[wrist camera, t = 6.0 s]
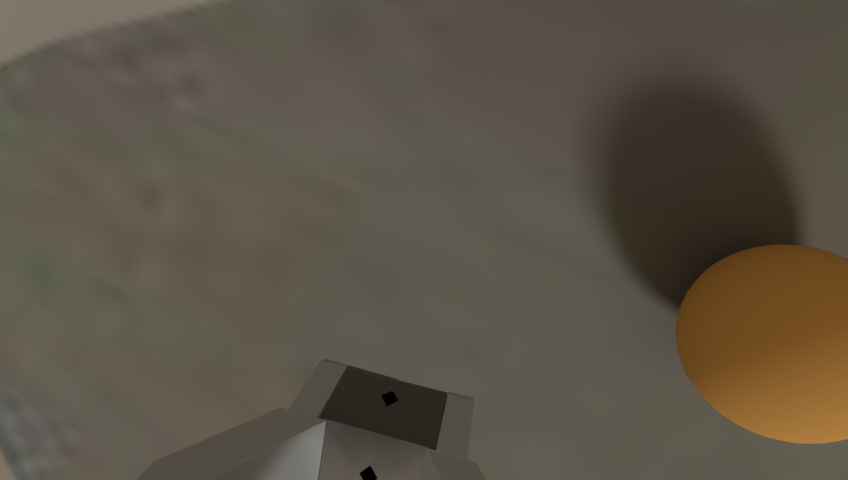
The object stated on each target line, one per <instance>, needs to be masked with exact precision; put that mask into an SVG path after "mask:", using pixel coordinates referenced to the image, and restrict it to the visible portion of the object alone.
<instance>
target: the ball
mask: <svg viewBox="0 0 848 480" xmlns="http://www.w3.org/2000/svg"><path fill="white" fill-rule="evenodd" d="M676 338H677V346H678V352H679V355H680V359H681V362H682V364H683V367H684V369H685V371H686V373H687V375H688V377H689V379H690V380H691V382H692V383H693V385H694V386H695V388H696V389H697V391H698V392H699V393H700V394H701V395H702V396H703V397H704V399H705V400H706V401H707V402H708V403H709V404H710V405H711V406H712V407H713V408H715V409H716V410H717V411H718V412H720V413H721V414H722V415H724V416H725V417H726V418H728V419H729V420H731V421H733V422H734V423H736V424H737V425H739V426H741V427H744V428H746V429H748V430H750V431H752V432H754V433H757V434H759V435H762V436H765V437H768V438H772V439H777V440H781V441H786V442H792V443H805V444H817V443H830V442H836V441H841V440H845V439H848V259H846V258H843V257H841V256H839V255H837V254H834V253H831V252H828V251H824V250H821V249H817V248H813V247H807V246H801V245H783V244H780V245H765V246H759V247H754V248H750V249H746V250H743V251H740V252H737V253H735V254H732V255H729V256H727V257H726V258H724V259H722V260H720V261H718V262H717V263H715V264H714V265H712V266H711V267H709V268H708V269H707V270H706V271H705V272H703V273H702V274H701V275H700V276H699V277H698V279H697V280H696V281H695V282H694V283H693V285H692V286H691V288H690V289H689V290H688V292H687V294H686V296H685V297H684V299H683V301H682V304H681V307H680V310H679V314H678V319H677V325H676Z"/></svg>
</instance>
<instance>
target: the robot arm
mask: <svg viewBox="0 0 848 480" xmlns="http://www.w3.org/2000/svg"><path fill="white" fill-rule="evenodd" d="M473 409H474V399H473V398H472V397H467V396H463V395H459V394H454V393H450V392H448V394H447V392H443V391H439V390H435V389H431V388H427V387H423V386H419V385H416V384H412V383H408V382H404V381H400V380H398V379H395V378H391V377H388V376H384V375H381V374H378V373H374V372H371V371H367V370H364V369H360V368H357V367H353V366H348V365H346V364H342V363H339V362H335V361H331V360H328V359H324V360H323V361H321V362H320V363H319V364H318V366H317V367H316V369H315V370H314V372H313V373H312V375H311V376H310V378H309V379H308V381H307V382H306V384H305V385H304V387H303V388H302V390H301V391H300V393H299V394H298V396H297V397H296V399H295V400H294V402H293V403H292V405H291V406H290V408H289V409H285V408H279V409H277V410H274V411H272V412H269V413H267V414H265V415H262V416H260V417H258V418H255V419H253V420H250V421H248V422H246V423H243V424H241V425H239V426H236V427H234V428H232V429H229V430H227V431H224V432H222V433H220V434H217V435H215V436H213V437H210V438H208V439H205V440H203V441H201V442H198V443H196V444H194V445H191V446H189V447H187V448H184V449H182V450H179V451H177V452H175V453H172V454H170V455H168V456H165V457H163V458H160V459H158V460H156V461H154V462H153V463H152V464H151V465H150V466H149V467H148V468H147V469H146V470H145V471H144V472H143V474H142V475H141V476H140V477H139V478H138V479H137V480H486V479H485V477H484V475H483V474H482V472H481V470H480V469H479V467H478V466H477V464H476V462H474V461H471V460H468V459H467V458H468V449H469V441H470V433H471V425H472V417H473Z"/></svg>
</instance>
